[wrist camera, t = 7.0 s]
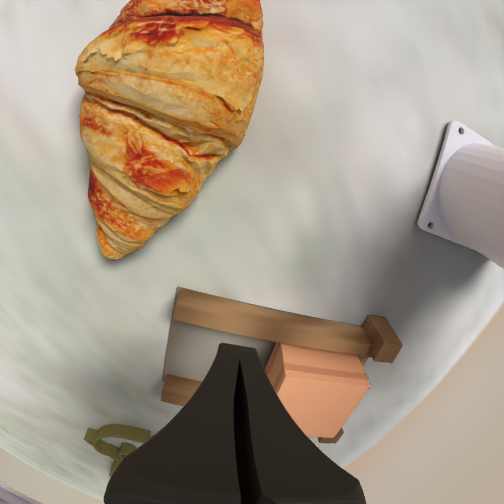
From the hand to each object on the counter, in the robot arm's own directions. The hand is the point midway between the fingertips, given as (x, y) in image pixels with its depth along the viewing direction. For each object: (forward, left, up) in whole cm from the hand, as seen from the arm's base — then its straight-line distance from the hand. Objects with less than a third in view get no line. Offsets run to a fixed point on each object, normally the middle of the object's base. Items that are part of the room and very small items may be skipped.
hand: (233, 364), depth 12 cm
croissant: (+7, -9, -10) cm, 15 cm away
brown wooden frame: (-4, +8, -10) cm, 13 cm away
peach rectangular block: (-7, +8, -9) cm, 14 cm away
